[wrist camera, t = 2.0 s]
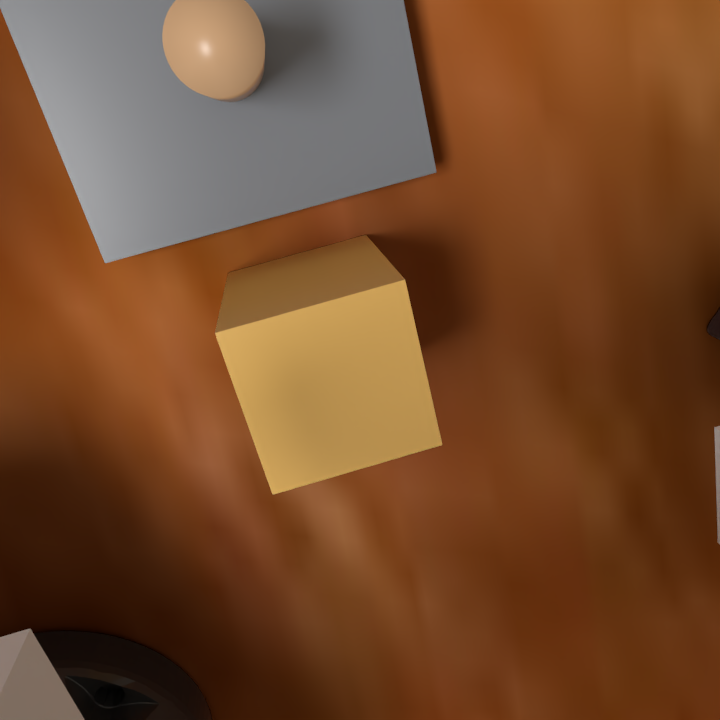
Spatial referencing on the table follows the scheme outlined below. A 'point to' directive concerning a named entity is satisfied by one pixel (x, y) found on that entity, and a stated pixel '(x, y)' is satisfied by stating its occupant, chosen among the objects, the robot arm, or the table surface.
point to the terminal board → (221, 108)
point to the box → (715, 326)
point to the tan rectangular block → (326, 363)
